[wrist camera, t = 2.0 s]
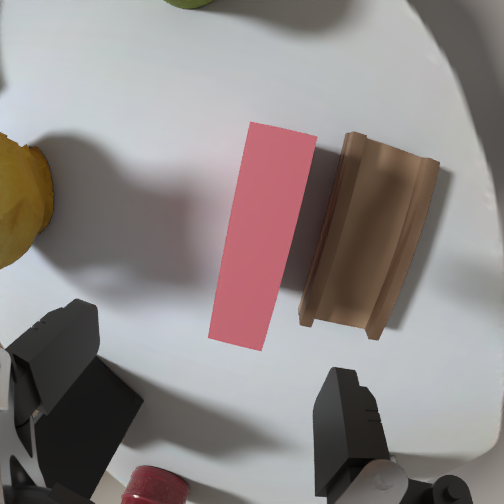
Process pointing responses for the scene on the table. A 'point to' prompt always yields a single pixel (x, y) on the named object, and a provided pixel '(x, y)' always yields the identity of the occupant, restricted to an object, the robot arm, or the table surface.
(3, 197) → the pitcher
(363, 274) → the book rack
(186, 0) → the plant pot
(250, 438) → the table surface
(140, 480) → the canister
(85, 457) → the bookend
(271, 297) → the book
